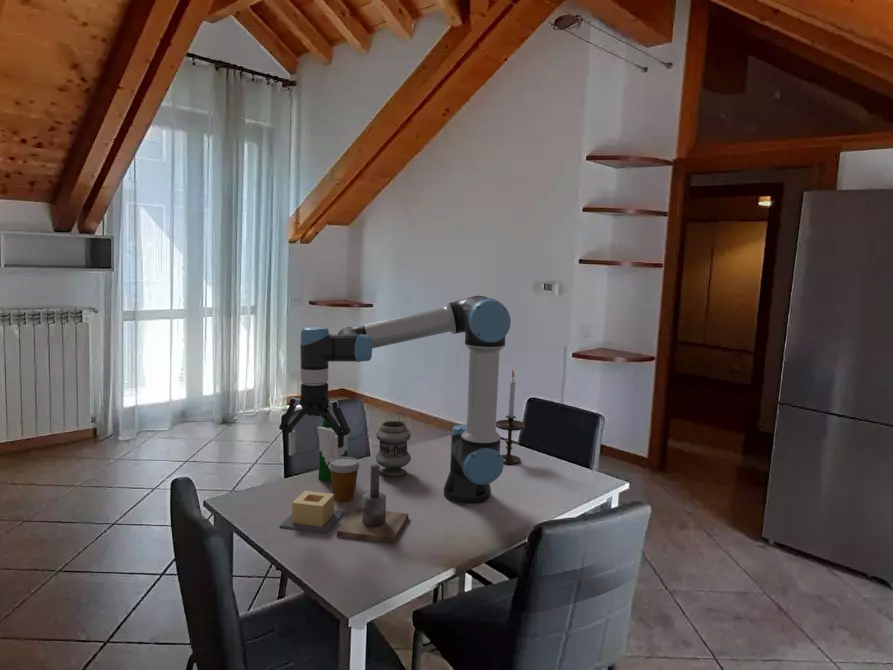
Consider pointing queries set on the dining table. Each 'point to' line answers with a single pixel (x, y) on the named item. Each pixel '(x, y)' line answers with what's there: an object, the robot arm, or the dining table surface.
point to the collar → (313, 508)
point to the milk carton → (328, 450)
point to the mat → (324, 529)
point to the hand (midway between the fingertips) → (314, 456)
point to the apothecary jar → (393, 449)
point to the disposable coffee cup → (343, 478)
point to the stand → (373, 517)
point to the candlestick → (510, 427)
